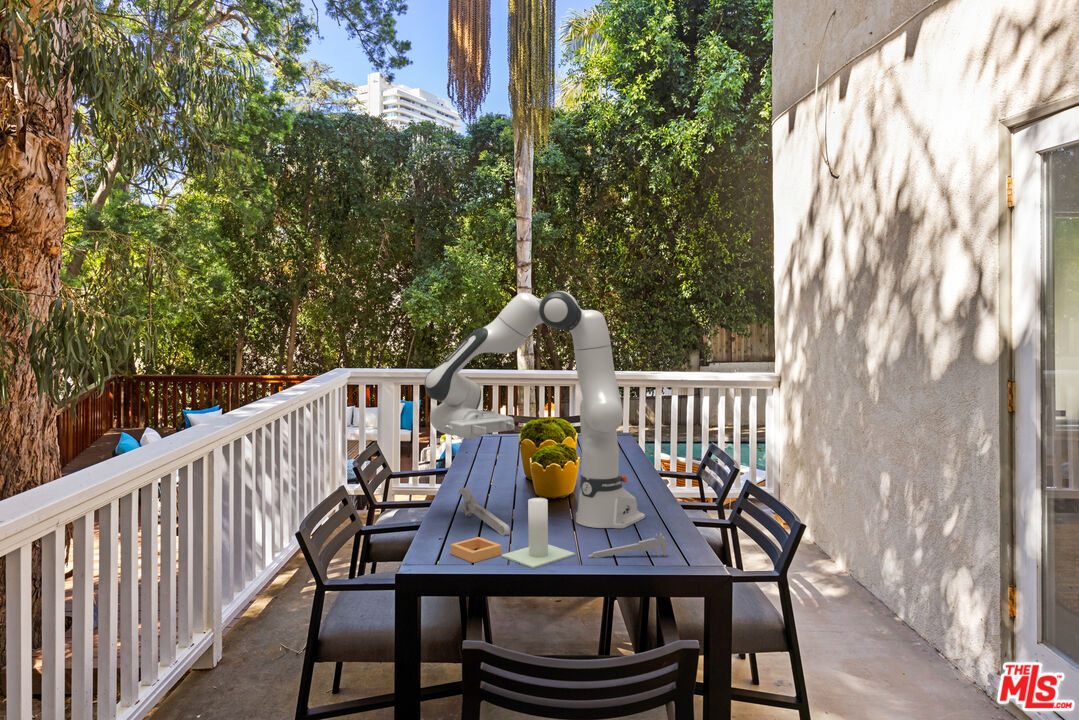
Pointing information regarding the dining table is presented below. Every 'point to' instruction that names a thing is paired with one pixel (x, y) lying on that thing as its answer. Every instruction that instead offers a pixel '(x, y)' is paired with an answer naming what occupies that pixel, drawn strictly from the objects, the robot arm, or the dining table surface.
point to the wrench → (482, 512)
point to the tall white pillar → (538, 527)
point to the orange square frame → (467, 553)
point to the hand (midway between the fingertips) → (500, 429)
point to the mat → (534, 562)
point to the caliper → (635, 547)
